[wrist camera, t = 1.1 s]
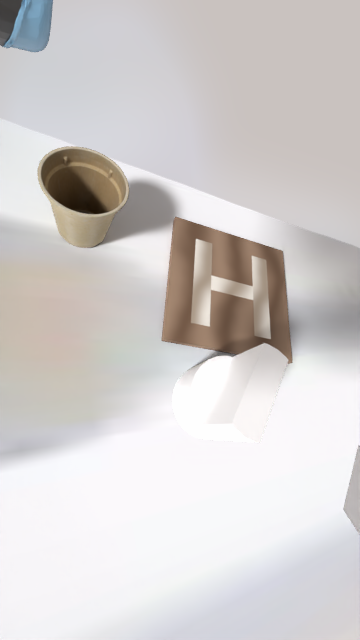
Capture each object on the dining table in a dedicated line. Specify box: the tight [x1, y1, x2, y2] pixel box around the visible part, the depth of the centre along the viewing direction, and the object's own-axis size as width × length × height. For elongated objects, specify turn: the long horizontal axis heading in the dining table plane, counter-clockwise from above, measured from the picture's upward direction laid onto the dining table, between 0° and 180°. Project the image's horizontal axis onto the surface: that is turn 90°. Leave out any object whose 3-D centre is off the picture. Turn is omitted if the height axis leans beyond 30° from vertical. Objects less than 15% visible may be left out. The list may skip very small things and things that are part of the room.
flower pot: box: [38, 146, 129, 248], centre depth 34 cm, size 9×9×9 cm
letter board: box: [162, 217, 292, 364], centre depth 43 cm, size 20×20×1 cm
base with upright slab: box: [172, 343, 288, 443], centre depth 30 cm, size 9×9×12 cm
